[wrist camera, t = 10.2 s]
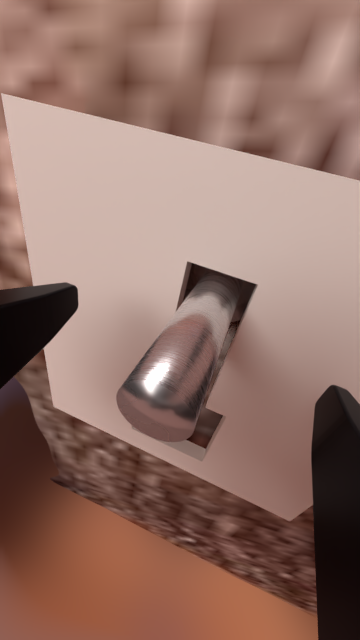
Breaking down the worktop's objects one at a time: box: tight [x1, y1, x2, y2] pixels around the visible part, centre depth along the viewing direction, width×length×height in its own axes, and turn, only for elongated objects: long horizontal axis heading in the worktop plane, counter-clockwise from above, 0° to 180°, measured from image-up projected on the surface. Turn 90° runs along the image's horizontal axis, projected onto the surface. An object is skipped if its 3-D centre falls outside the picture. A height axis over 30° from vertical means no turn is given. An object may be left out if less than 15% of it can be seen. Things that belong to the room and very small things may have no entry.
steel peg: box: [116, 263, 256, 442], centre depth 9 cm, size 4×4×9 cm
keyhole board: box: [1, 93, 360, 521], centre depth 15 cm, size 20×20×3 cm
